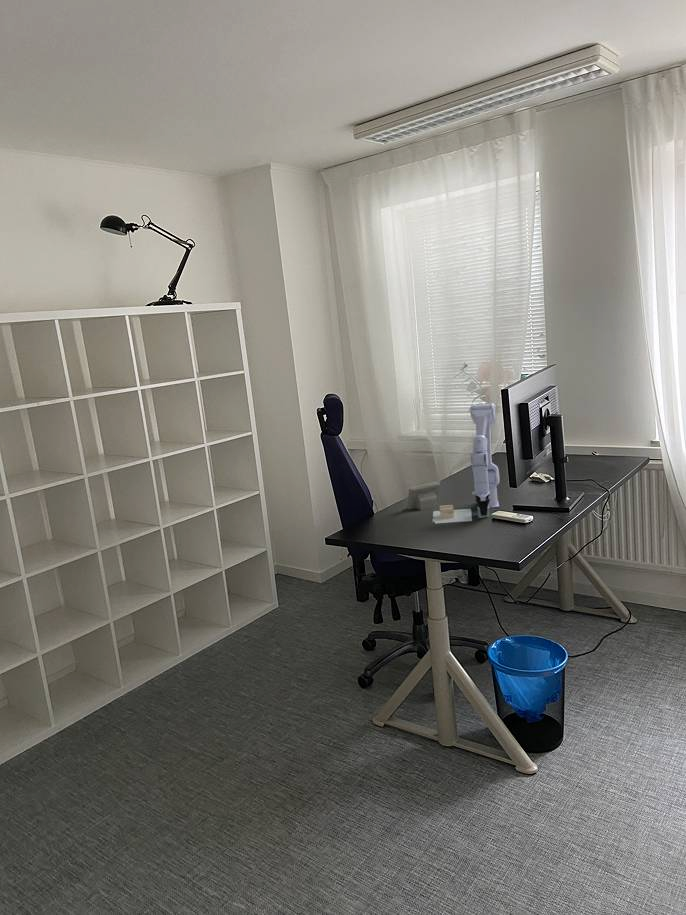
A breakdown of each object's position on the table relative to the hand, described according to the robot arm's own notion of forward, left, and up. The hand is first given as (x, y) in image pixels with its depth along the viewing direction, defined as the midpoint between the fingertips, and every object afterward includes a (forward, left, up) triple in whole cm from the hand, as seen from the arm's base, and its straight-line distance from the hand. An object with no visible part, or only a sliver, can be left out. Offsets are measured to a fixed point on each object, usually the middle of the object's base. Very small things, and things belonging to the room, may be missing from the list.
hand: (483, 513), depth 291 cm
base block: (-3, -15, -1) cm, 15 cm away
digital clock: (-21, -25, -2) cm, 33 cm away
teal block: (0, 0, -1) cm, 1 cm away
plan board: (-3, -13, -1) cm, 13 cm away
